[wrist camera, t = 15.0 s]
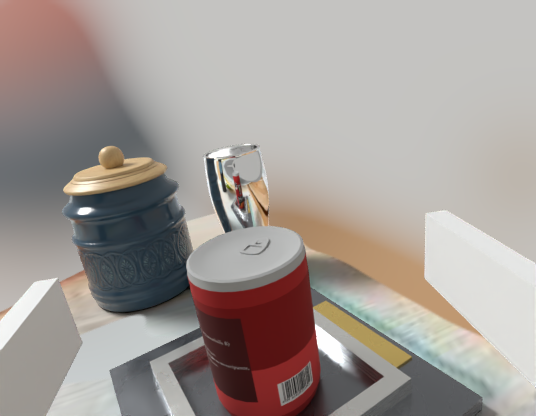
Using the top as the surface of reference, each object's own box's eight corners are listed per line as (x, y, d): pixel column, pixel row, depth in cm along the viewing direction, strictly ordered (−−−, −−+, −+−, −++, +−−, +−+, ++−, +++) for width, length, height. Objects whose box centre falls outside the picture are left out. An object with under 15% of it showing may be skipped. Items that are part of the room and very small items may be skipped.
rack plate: (193, 669, 15) (180, 639, 15) (112, 379, 32) (105, 359, 31) (481, 409, 24) (483, 382, 24) (301, 288, 41) (298, 270, 40)
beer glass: (251, 286, 43) (227, 159, 38) (215, 271, 48) (189, 156, 43) (291, 260, 47) (274, 143, 42) (254, 249, 52) (234, 142, 47)
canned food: (326, 346, 30) (310, 222, 27) (316, 436, 23) (293, 281, 20) (237, 344, 32) (211, 227, 29) (202, 425, 25) (162, 283, 21)
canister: (213, 257, 52) (185, 129, 46) (172, 315, 40) (127, 153, 34) (131, 260, 55) (94, 142, 49) (70, 315, 43) (13, 167, 37)
